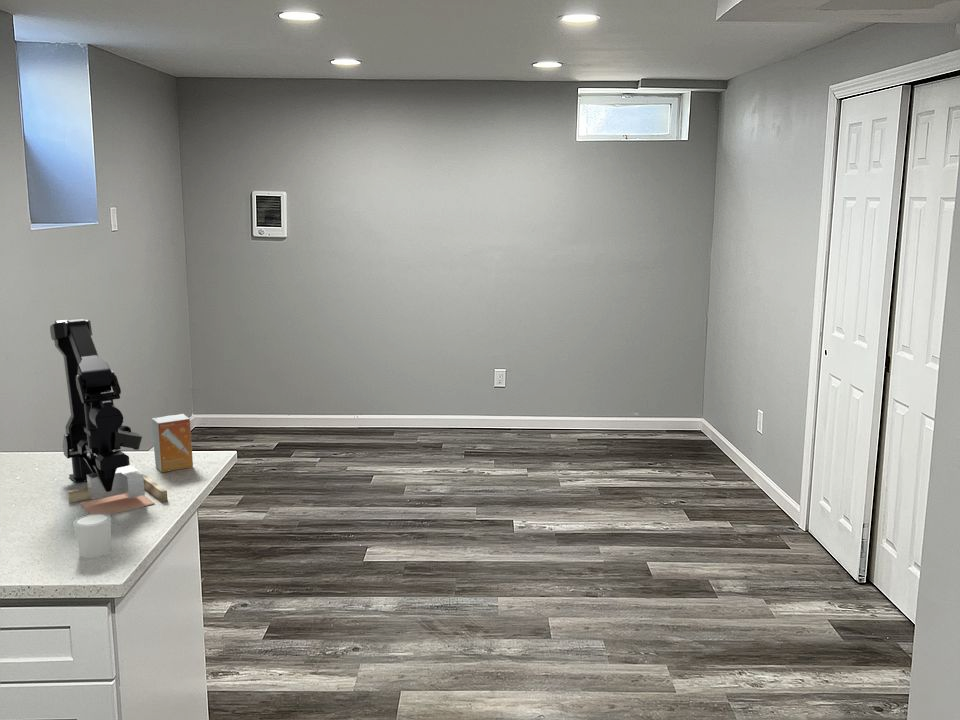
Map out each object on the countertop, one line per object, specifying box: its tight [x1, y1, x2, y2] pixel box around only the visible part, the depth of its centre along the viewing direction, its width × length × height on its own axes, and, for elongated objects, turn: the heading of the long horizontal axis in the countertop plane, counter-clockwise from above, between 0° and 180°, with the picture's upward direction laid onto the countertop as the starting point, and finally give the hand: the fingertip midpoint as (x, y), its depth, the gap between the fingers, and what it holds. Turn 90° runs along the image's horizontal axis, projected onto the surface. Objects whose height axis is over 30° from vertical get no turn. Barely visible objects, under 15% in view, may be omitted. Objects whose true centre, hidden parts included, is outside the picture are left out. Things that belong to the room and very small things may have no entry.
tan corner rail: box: [67, 474, 169, 504], centre depth 207 cm, size 15×18×2 cm
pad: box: [80, 493, 155, 515], centre depth 205 cm, size 11×13×1 cm
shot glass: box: [72, 513, 112, 559], centre depth 177 cm, size 7×7×7 cm
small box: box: [151, 413, 194, 473], centre depth 230 cm, size 8×6×13 cm
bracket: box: [86, 465, 146, 501], centre depth 204 cm, size 10×8×5 cm
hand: (106, 489), depth 205 cm, fingers closed on bracket, 3 cm apart
